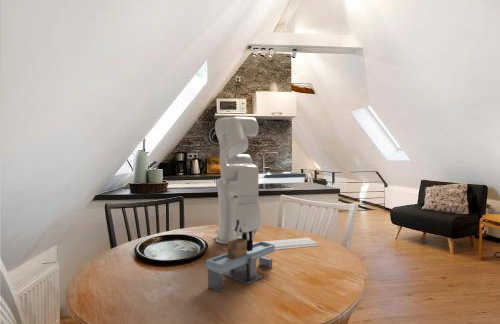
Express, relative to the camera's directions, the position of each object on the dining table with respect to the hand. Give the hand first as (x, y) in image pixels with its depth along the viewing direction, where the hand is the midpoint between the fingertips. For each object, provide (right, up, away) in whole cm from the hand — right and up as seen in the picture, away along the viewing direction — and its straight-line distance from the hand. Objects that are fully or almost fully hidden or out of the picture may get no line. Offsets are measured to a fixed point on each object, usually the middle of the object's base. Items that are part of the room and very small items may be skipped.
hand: (247, 249), depth 112 cm
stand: (-2, -9, -1) cm, 9 cm away
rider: (-4, -2, -4) cm, 5 cm away
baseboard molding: (+17, -8, +34) cm, 39 cm away
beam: (-2, -2, -1) cm, 3 cm away
